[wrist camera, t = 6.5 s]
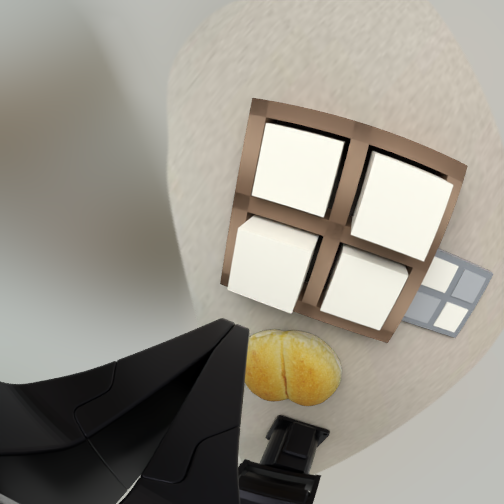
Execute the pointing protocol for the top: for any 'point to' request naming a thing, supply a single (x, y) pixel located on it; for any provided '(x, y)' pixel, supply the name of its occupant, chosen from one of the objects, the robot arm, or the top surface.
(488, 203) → the top surface
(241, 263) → the button
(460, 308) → the pattern card
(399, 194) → the button
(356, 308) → the button
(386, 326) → the brown flat square grid
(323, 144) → the button
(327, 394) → the bread roll
